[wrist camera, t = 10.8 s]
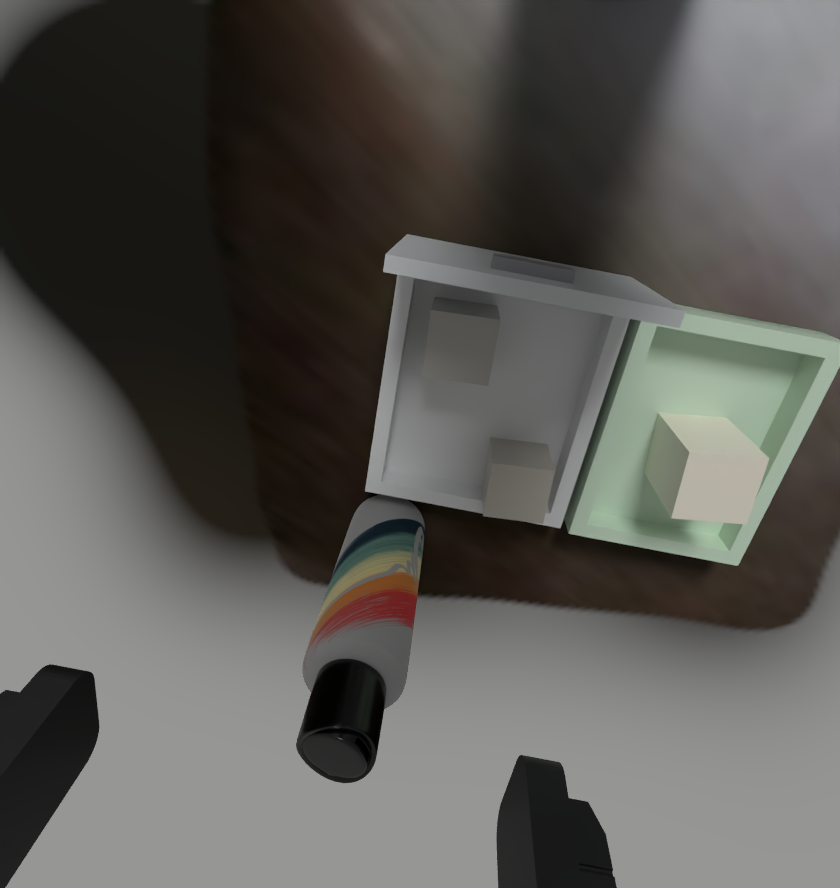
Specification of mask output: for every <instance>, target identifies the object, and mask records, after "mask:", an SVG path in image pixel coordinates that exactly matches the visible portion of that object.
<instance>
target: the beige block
mask: <svg viewBox="0 0 840 888" xmlns="http://www.w3.org/2000/svg"><path fill="white" fill-rule="evenodd" d="M769 459H770V458H769V457H768V456H767V455H765V454H764V453H763V452H762V451H761V450H760V449H759V448H758V447H757V446H756V445H755V444H754V443H753V442H752V441H751V440H750V439H748V438H747V437H746V436H745V435H744V434H743V433H742V432H741V431H740V430H739V429H738V428H737V427H736V426H735V425H734V424H733V423H731V422H730V421H729V420H728V419H727V418H723V417H710V416H696V415H683V414H669V413H658V415H657V419H656V423H655V427H654V432H653V436H652V440H651V444H650V448H649V452H648V456H647V460H646V464H645V469H644V473H645V475H646V476H647V478H648V480H649V481H650V483H651V485H652V487H653V488H654V490H655V492H656V493H657V495H658V497H659V498H660V500H661V502H662V504H663V505H664V507H665V509H666V510H667V512H668V514H669V515H670V517H671V518H673V519H685V520H697V521H709V522H721V523H733V524H745V525H747V522H748V519H749V517H750V514H751V511H752V508H753V505H754V502H755V499H756V496H757V493H758V491H759V488H760V485H761V482H762V479H763V476H764V473H765V470H766V467H767V464H768V462H769Z"/></svg>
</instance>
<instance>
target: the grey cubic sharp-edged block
mask: <svg viewBox="0 0 840 888" xmlns="http://www.w3.org/2000/svg"><path fill="white" fill-rule="evenodd" d="M499 325H500V315H499V310H498V306H497V305H490V304H483V303H476V302H469V301H462V300H455V299H448V298H441V297H435V298H434V301H433V304H432V308H431V312H430V320H429V327H428V335H427V343H426V350H425V358H424V365H423V373H422V376H423V377H429V378H436V379H443V380H450V381H457V382H464V383H471V384H478V385H484V386H488V384H489V379H490V374H491V368H492V363H493V358H494V352H495V347H496V342H497V336H498V331H499Z"/></svg>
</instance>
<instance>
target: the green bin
mask: <svg viewBox="0 0 840 888" xmlns="http://www.w3.org/2000/svg"><path fill="white" fill-rule="evenodd" d="M675 305H677V304H675ZM677 306H678V307H680V308H682V309H683V310H685V311H686V313H685V315H684V318H683V321H682V323H681V326H680V328H676V327H670V326H665V325H660V324H655V323H649V322H644V321H639V320H634V319H630V321H629V324H628V327H627V330H626V333H625V336H624V339H623V342H622V345H621V348H620V351H619V354H618V357H617V360H616V363H615V366H614V369H613V372H612V375H611V378H610V381H609V384H608V387H607V390H606V393H605V396H604V399H603V402H602V405H601V408H600V411H599V414H598V417H597V420H596V423H595V426H594V429H593V432H592V435H591V438H590V441H589V444H588V447H587V450H586V453H585V456H584V459H583V462H582V465H581V468H580V471H579V474H578V477H577V480H576V483H575V486H574V489H573V492H572V495H571V498H570V501H569V504H568V507H567V510H566V513H565V516H564V519H565V523H566V526H567V530H568V534H573V535H578V536H583V537H588V538H594V539H599V540H604V541H610V542H615V543H620V544H625V545H631V546H636V547H641V548H646V549H652V550H657V551H662V552H667V553H673V554H678V555H683V556H689V557H694V558H699V559H704V560H710V561H715V562H720V563H725V564H731V565H736V566H738V565H739V563H740V561H741V559H742V557H743V555H744V553H745V551H746V549H747V547H748V545H749V543H750V541H751V539H752V537H753V535H754V533H755V531H756V529H757V527H758V525H759V523H760V522H761V520H762V518H763V516H764V514H765V512H766V510H767V508H768V506H769V504H770V502H771V500H772V498H773V496H774V494H775V492H776V490H777V488H778V486H779V484H780V482H781V480H782V478H783V476H784V475H785V473H786V471H787V469H788V467H789V465H790V463H791V461H792V459H793V457H794V455H795V453H796V451H797V449H798V447H799V445H800V443H801V441H802V439H803V437H804V435H805V433H806V431H807V429H808V427H809V426H810V424H811V422H812V420H813V418H814V416H815V414H816V412H817V410H818V408H819V406H820V404H821V402H822V400H823V398H824V396H825V394H826V392H827V390H828V388H829V386H830V384H831V382H832V380H833V378H834V377H835V375H836V373H837V371H838V369H839V367H840V340H839V339H836V338H834V337H832V336H830V335H827V334H825V333H823V332H819V331H814V330H808V329H803V328H798V327H793V326H787V325H782V324H777V323H772V322H766V321H761V320H756V319H750V318H745V317H740V316H735V315H729V314H724V313H719V312H714V311H708V310H703V309H698V308H693V307H687V306H682V305H677ZM658 413H669V414H683V415H696V416H710V417H723V418H727V419H728V420H729V421H730V422H731V423H733V424H734V425H735V426H736V427H737V428H738V429H739V430H740V431H741V432H742V433H743V434H744V435H745V436H746V437H747V438H748V439H750V440H751V441H752V442H753V443H754V444H755V445H756V446H757V447H758V448H759V449H760V450H761V451H762V452H763V453H764V454H765V455H767V456H768V457H769V458H770V459H769V462H768V464H767V467H766V470H765V473H764V476H763V479H762V482H761V485H760V488H759V491H758V493H757V496H756V499H755V502H754V505H753V508H752V511H751V514H750V517H749V519H748V522H747V525H745V524H733V523H721V522H709V521H697V520H685V519H673V518H671V517H670V515H669V514H668V512H667V510H666V509H665V507H664V505H663V504H662V502H661V500H660V498H659V497H658V495H657V493H656V492H655V490H654V488H653V487H652V485H651V483H650V481H649V480H648V478H647V476H646V475H645V473H644V469H645V464H646V460H647V456H648V452H649V448H650V444H651V440H652V436H653V432H654V427H655V423H656V419H657V415H658Z"/></svg>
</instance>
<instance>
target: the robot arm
mask: <svg viewBox="0 0 840 888" xmlns="http://www.w3.org/2000/svg"><path fill="white" fill-rule="evenodd" d="M98 733H99V719H98V709H97V699H96V690H95V680H94V676H93V674H92V673H91V672H88V671H83V670H77V669H72V668H67V667H62V666H57V665H47V666H45V667H43V668H42V669H41V670H40V671H39V672H38V673H37V674H36V675H35V676H34V677H33V678H32V679H31V681H30V682H29V683H28V684H27V685H26V686H25V687H24V688H23V690H22V691H21V692H20V693H19V692H14V691H9V690H5V691H4V692H2V693H1V694H0V888H5V887H6V886H7V884H8V883H9V881H10V879H11V878H12V876H13V875H14V873H15V872H16V870H17V869H18V867H19V866H20V864H21V863H22V861H23V859H24V858H25V857H26V855H27V853H28V852H29V850H30V849H31V847H32V846H33V844H34V843H35V841H36V840H37V838H38V836H39V835H40V834H41V832H42V831H43V829H44V827H45V826H46V824H47V823H48V821H49V820H50V818H51V817H52V815H53V814H54V812H55V811H56V809H57V808H58V806H59V804H60V803H61V802H62V800H63V798H64V797H65V795H66V794H67V792H68V791H69V789H70V787H71V786H72V785H73V783H74V781H75V780H76V779H77V777H78V775H79V774H80V772H81V771H82V769H83V768H84V766H85V765H86V763H87V762H88V760H89V758H90V756H91V754H92V752H93V749H94V747H95V744H96V741H97V737H98ZM497 861H498V862H497V863H498V888H617V887H616V883H615V878H614V877H613V874H612V871H613V868H612V863H611V858H610V854H609V848H608V844H607V839H606V834H605V832H604V830H603V829H602V827H601V825H600V823H599V821H598V819H597V818H596V816H595V814H594V812H593V810H592V808H591V807H590V805H589V803H588V802H585V801H580V800H575V799H570V798H568V792H567V786H566V780H565V774H564V770H563V767H562V765H561V763H559V762H555V761H550V760H544V759H539V758H534V757H528V756H523V755H520V756H519V757H518V759H517V761H516V764H515V767H514V769H513V772H512V775H511V778H510V780H509V783H508V786H507V789H506V791H505V794H504V796H503V799H502V802H501V806H500V810H499V815H498V823H497Z"/></svg>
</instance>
